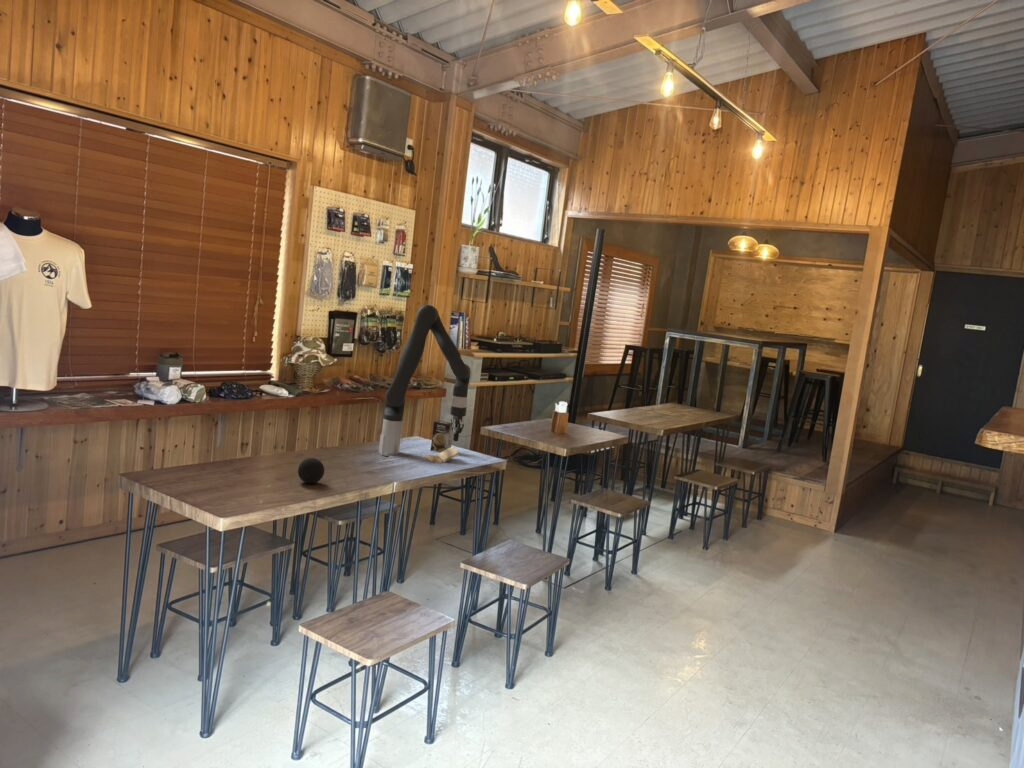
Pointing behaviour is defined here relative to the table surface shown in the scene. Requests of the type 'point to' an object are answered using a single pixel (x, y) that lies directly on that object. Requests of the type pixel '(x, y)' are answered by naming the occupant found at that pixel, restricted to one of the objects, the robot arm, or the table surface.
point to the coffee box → (441, 436)
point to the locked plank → (433, 459)
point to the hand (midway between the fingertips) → (455, 440)
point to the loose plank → (448, 454)
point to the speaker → (311, 470)
